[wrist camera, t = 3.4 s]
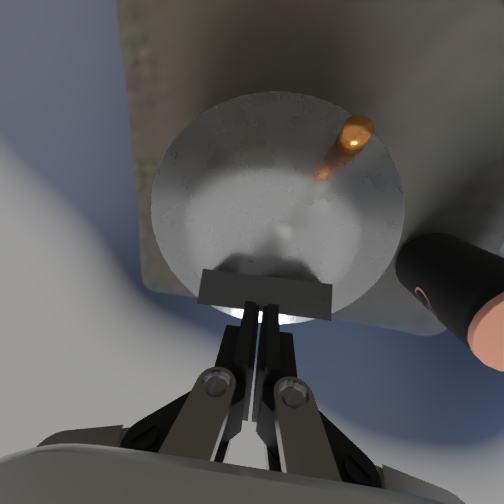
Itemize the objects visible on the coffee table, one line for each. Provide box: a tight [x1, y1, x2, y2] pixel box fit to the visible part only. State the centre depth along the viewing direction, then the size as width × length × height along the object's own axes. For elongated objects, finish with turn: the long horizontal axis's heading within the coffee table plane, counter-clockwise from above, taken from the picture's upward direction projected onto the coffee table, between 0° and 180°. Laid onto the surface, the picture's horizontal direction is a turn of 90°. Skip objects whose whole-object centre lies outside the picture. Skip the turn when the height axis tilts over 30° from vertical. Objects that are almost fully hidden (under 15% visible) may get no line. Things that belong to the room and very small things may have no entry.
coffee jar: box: [396, 233, 504, 371], centre depth 32 cm, size 11×11×18 cm
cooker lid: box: [151, 91, 405, 324], centre depth 19 cm, size 21×21×3 cm
